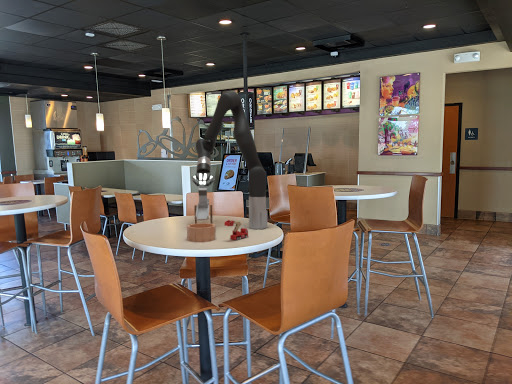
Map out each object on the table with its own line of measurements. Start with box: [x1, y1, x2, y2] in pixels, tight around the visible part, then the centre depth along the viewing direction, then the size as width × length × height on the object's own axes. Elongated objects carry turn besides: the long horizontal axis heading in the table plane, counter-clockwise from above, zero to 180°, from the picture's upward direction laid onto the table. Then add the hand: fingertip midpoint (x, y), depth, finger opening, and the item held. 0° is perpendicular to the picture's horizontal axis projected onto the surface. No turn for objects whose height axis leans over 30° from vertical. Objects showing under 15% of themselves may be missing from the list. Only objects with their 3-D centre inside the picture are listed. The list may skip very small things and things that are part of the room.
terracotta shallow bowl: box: [186, 222, 217, 243], centre depth 182 cm, size 13×13×6 cm
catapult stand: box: [193, 204, 214, 224], centre depth 198 cm, size 14×12×14 cm
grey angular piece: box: [196, 187, 210, 221], centre depth 194 cm, size 18×6×13 cm, turn 3°
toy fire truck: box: [224, 219, 249, 241], centre depth 181 cm, size 3×14×10 cm, turn 140°
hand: (202, 191), depth 199 cm, fingers closed
